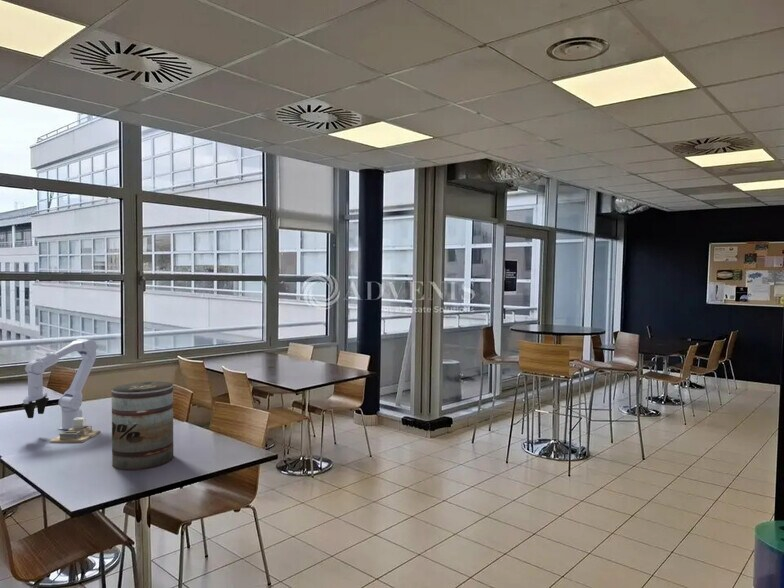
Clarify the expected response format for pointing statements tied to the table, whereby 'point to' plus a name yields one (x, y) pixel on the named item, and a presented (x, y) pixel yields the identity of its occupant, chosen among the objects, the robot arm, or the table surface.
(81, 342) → the robot arm
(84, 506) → the table surface
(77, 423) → the brushed aluminum block
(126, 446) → the barrel
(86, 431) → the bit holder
